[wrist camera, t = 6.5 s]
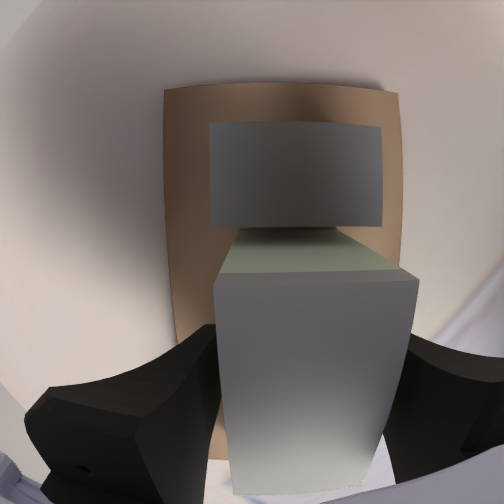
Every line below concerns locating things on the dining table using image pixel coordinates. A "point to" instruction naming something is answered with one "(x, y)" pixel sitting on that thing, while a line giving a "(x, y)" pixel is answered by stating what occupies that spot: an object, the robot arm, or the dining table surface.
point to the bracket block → (308, 357)
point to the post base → (195, 183)
